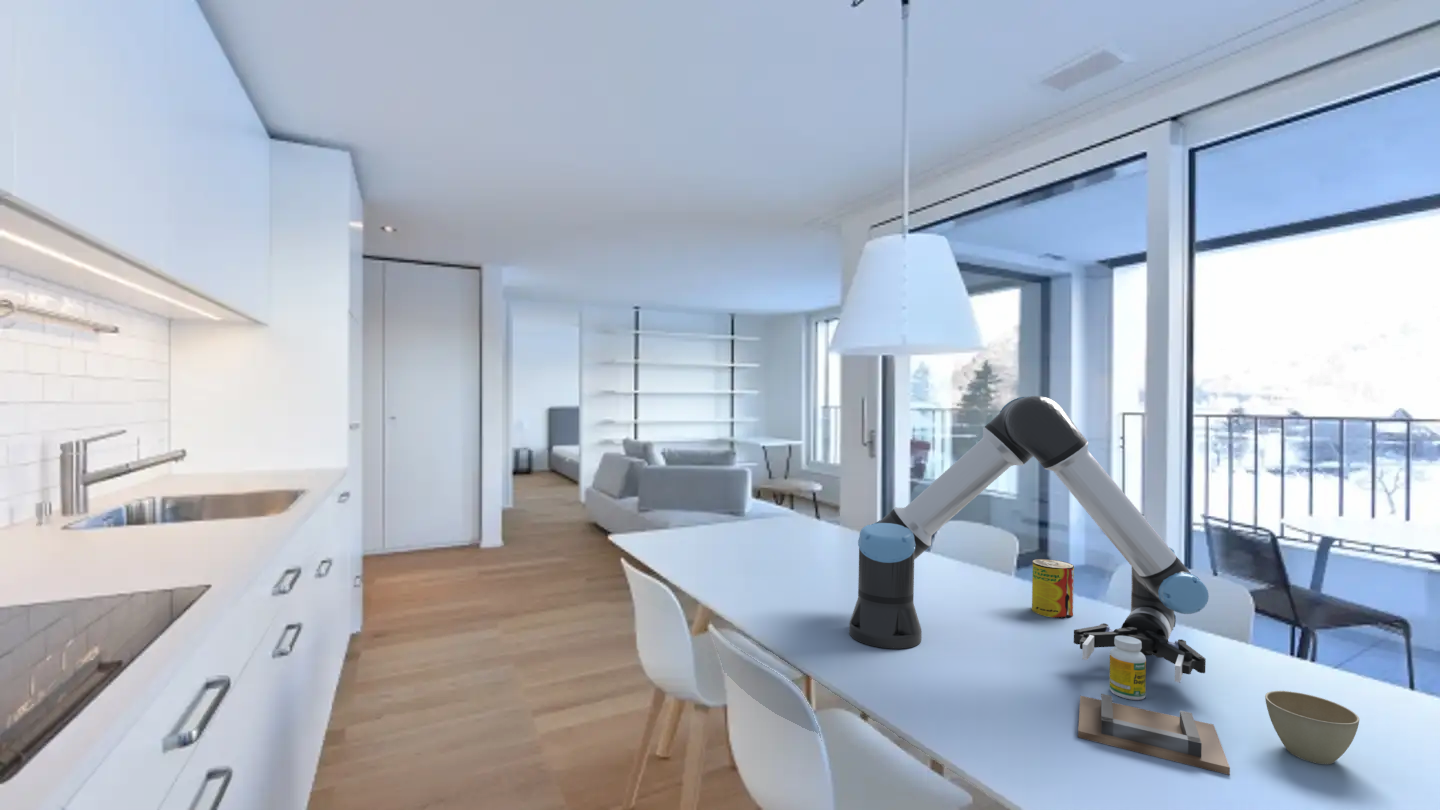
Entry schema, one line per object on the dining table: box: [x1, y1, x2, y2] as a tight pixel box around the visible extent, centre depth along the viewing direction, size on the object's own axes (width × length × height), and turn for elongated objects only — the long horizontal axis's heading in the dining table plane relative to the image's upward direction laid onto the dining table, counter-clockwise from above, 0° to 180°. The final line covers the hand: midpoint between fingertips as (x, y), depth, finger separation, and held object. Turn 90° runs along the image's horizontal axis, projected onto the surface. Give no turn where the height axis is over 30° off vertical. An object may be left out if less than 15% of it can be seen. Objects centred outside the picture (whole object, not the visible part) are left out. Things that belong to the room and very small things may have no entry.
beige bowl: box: [1264, 690, 1360, 765], centre depth 92 cm, size 10×10×7 cm
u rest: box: [1077, 693, 1231, 776], centre depth 97 cm, size 18×14×3 cm
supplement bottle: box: [1109, 636, 1147, 701], centre depth 111 cm, size 5×5×10 cm
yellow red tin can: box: [1031, 558, 1075, 619], centre depth 156 cm, size 9×9×12 cm
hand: (1129, 662), depth 110 cm, fingers open, 13 cm apart
